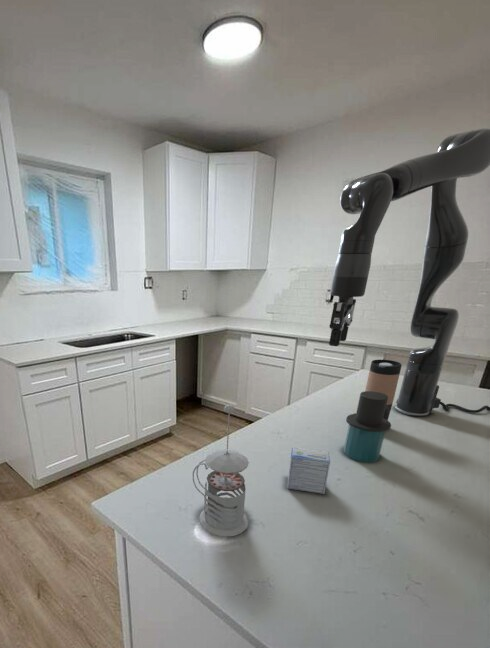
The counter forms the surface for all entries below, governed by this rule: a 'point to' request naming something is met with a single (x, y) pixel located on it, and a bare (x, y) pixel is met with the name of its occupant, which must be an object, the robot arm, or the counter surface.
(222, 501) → the french press
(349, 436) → the cup
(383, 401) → the dark grey top hat
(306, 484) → the medicine box
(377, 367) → the travel mug
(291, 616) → the counter surface
